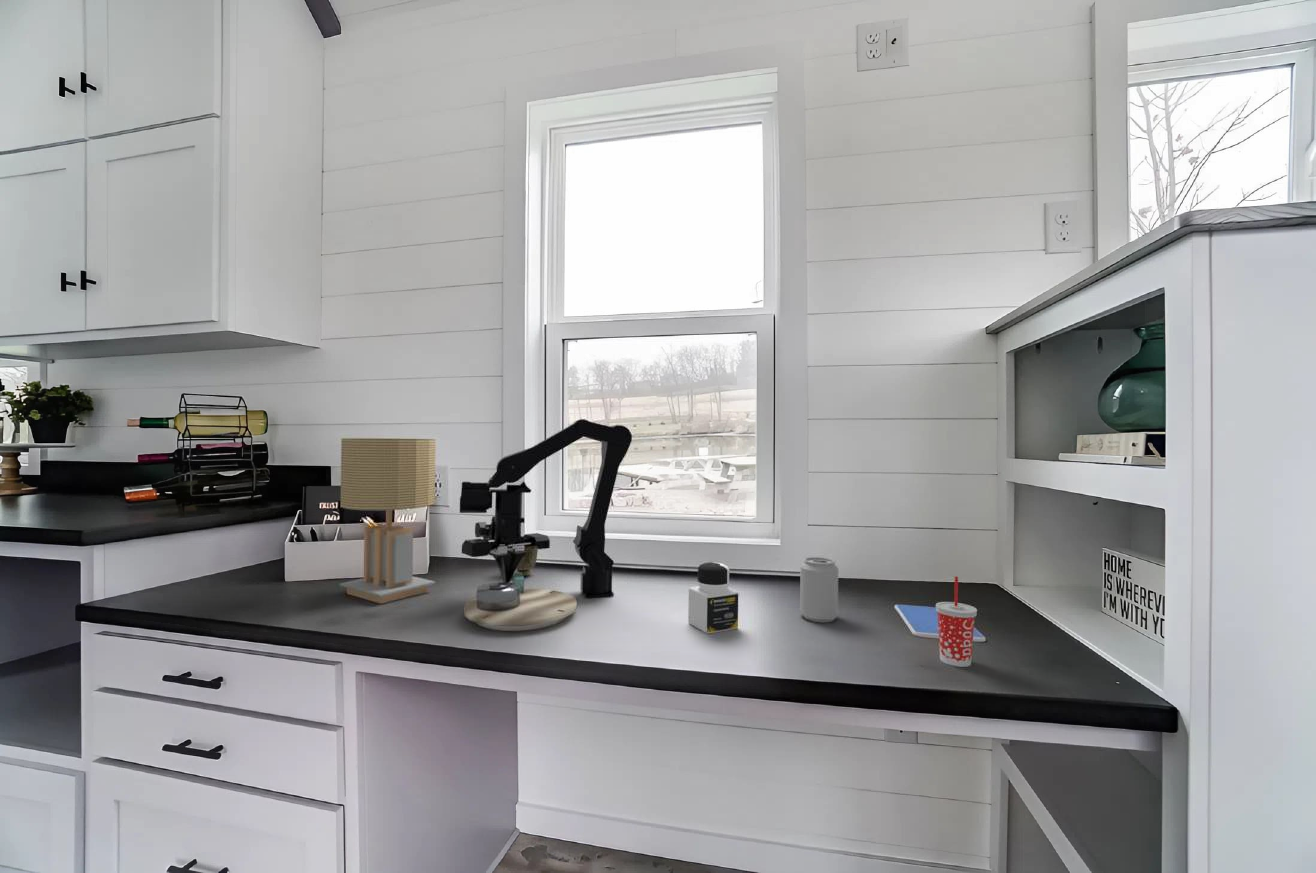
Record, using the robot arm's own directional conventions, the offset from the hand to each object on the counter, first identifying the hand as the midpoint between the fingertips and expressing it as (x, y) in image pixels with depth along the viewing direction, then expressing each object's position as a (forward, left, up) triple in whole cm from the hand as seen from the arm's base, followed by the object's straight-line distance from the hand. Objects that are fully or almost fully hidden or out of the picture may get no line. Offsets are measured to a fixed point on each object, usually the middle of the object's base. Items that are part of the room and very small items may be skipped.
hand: (506, 583), depth 126 cm
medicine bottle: (-37, +28, -4) cm, 47 cm away
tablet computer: (-82, +38, -4) cm, 90 cm away
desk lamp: (+26, -13, -4) cm, 29 cm away
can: (-60, +29, -4) cm, 67 cm away
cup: (-5, -22, -4) cm, 23 cm away
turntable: (-2, +12, -2) cm, 13 cm away
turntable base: (-2, +12, -4) cm, 13 cm away
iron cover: (+2, +12, -1) cm, 12 cm away
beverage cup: (-69, +55, -4) cm, 89 cm away
